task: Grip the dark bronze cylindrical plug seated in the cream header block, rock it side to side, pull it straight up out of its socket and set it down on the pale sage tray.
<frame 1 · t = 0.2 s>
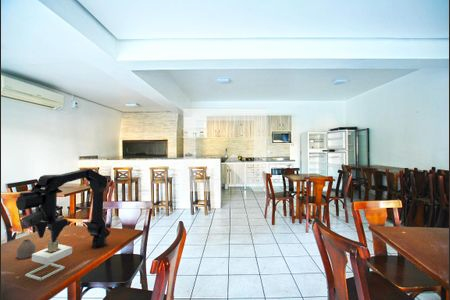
hand: (47, 239, 96), 14 cm above the table, fingers open, 9 cm apart
tray: (45, 273, 96), on the table
header: (52, 258, 108), on the table
vase: (26, 258, 108), on the table
plug: (52, 257, 108), point 1 cm above the table, touching header
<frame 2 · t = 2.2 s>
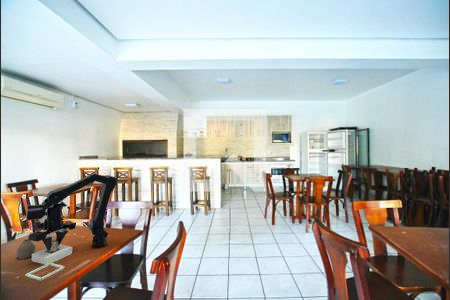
hand: (53, 248, 108), 5 cm above the table, fingers closed on plug, 4 cm apart
plug: (52, 257, 108), point 1 cm above the table, touching gripper, header
everything else where it was.
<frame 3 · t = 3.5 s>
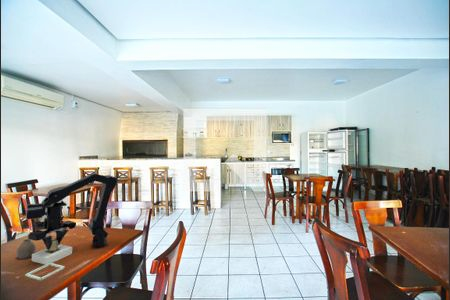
hand: (52, 247, 108), 5 cm above the table, fingers closed on plug, 4 cm apart
plug: (52, 256, 108), point 1 cm above the table, touching gripper
everything else where it was.
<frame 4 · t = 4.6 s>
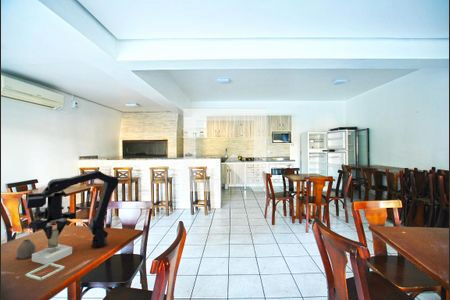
hand: (53, 237, 108), 10 cm above the table, fingers closed on plug, 4 cm apart
plug: (53, 246, 108), point 6 cm above the table, touching gripper
everything else where it was.
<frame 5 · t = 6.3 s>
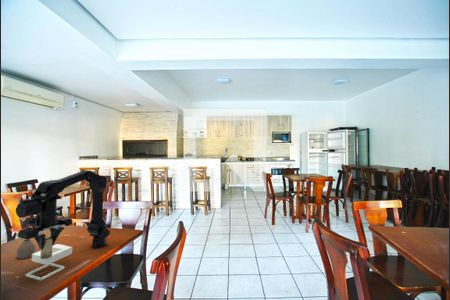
hand: (46, 247, 96), 12 cm above the table, fingers closed on plug, 4 cm apart
plug: (46, 256, 96), point 7 cm above the table, touching gripper
everything else where it was.
when the fingers open (6 cm above the table, at t = 7.4 s): plug stays where it is, resting on tray.
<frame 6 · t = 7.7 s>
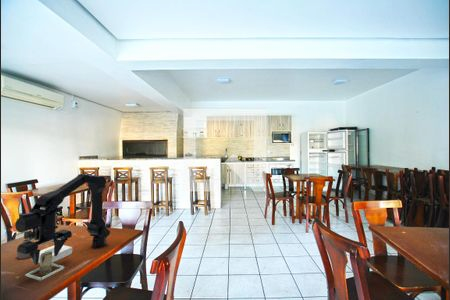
hand: (46, 260, 96), 6 cm above the table, fingers open, 8 cm apart
plug: (45, 272, 96), point 1 cm above the table, touching tray
everything else where it was.
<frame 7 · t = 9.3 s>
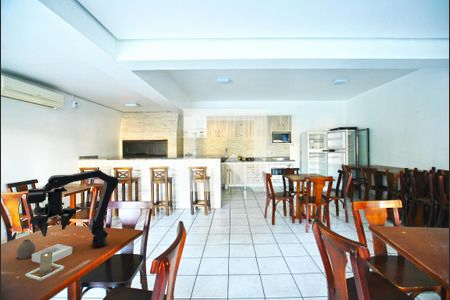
hand: (54, 232, 109), 12 cm above the table, fingers open, 9 cm apart
nothing on the table moved.
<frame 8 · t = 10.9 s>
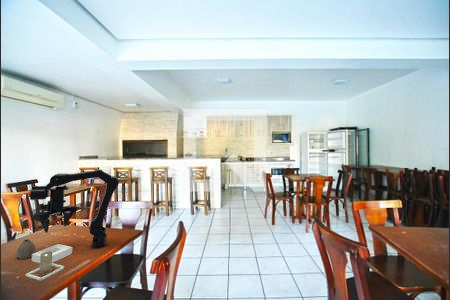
hand: (55, 229, 113), 13 cm above the table, fingers open, 9 cm apart
nothing on the table moved.
at the end: plug inside the target area on the tray (0.1 cm from its centre), point 0.6 cm above the tray's base; plug tilted 0°; plug touching tray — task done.
